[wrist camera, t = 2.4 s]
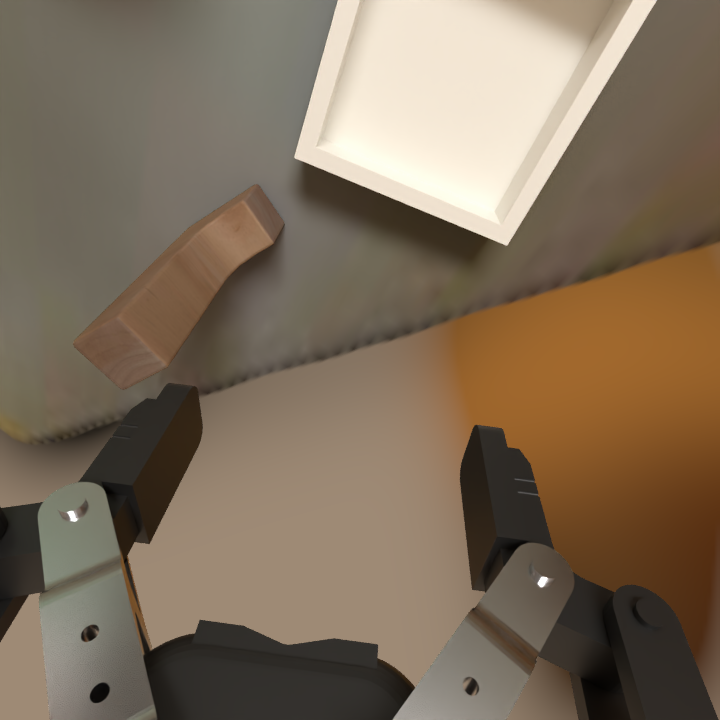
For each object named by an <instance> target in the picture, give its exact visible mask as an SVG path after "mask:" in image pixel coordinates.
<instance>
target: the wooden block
mask: <svg viewBox="0 0 720 720" xmlns="http://www.w3.org/2000/svg"><path fill="white" fill-rule="evenodd" d="M284 225H285V224H284V221H283V220H282V218H281V217H280V215H279V214H278V213H277V211H276V210H275V208H274V207H273V205H272V204H271V202H270V201H269V199H268V198H267V196H266V195H265V194H264V192H263V191H262V189H261V188H260V186H259V185H258V184H256V185H253V186H252V187H250V188H249V189H247V190H246V191H244V192H243V193H241V194H240V195H238V196H237V197H235V198H233V199H232V200H230V201H229V202H227V203H226V204H224V205H223V206H221V207H220V208H218V209H217V210H215V211H213V212H212V213H210V214H209V215H207V216H206V217H204V218H203V219H201V220H200V221H198V222H197V223H195V224H194V225H192V226H190V227H189V228H188V229H187V230H186V231H185V232H184V233H183V234H182V235H181V236H180V237H179V238H178V239H177V240H176V241H175V242H174V243H173V244H172V245H170V246H169V247H168V248H167V249H166V250H165V251H164V252H163V253H162V254H161V255H160V256H159V257H158V258H157V259H156V260H155V261H154V262H153V263H152V264H151V265H150V266H149V267H148V268H147V269H146V270H145V271H144V272H143V273H142V274H141V275H140V276H139V277H138V278H137V279H136V280H135V281H134V282H133V283H132V284H131V285H130V286H129V287H128V288H127V289H126V290H125V291H124V292H123V293H122V294H121V295H120V296H119V297H118V298H117V299H116V300H115V301H114V302H113V303H112V304H111V305H110V306H109V307H108V308H107V309H106V310H105V311H104V312H103V313H102V314H101V315H100V316H99V317H98V318H97V319H96V320H95V321H94V322H92V323H91V324H90V325H89V326H88V327H87V328H86V329H85V330H84V331H83V332H82V333H81V334H80V335H79V336H78V337H77V338H76V339H75V340H74V343H73V345H74V347H75V348H76V349H77V350H78V351H79V352H81V353H82V354H83V355H84V356H85V357H86V358H87V359H88V360H89V361H90V362H92V363H93V364H94V365H95V366H96V367H97V368H98V369H99V370H100V371H101V372H103V373H104V374H105V375H106V376H107V377H108V378H109V379H110V380H111V381H113V382H114V383H115V384H116V385H117V386H118V387H119V388H120V389H123V390H124V389H127V388H129V387H131V386H133V385H134V384H136V383H138V382H140V381H142V380H144V379H146V378H148V377H150V376H152V375H154V374H156V373H158V372H160V371H161V370H163V369H165V368H167V367H168V366H169V364H170V363H171V361H172V360H173V358H174V357H175V355H176V354H177V352H178V351H179V349H180V348H181V346H182V345H183V343H184V342H185V340H186V339H187V337H188V336H189V334H190V333H191V331H192V330H193V328H194V327H195V325H196V324H197V322H198V321H199V319H200V318H201V316H202V315H203V313H204V312H205V310H206V309H207V307H208V306H209V304H210V303H211V301H212V300H213V298H214V297H215V295H216V294H217V292H218V291H219V289H220V288H221V286H222V285H223V283H224V282H225V280H226V279H227V278H228V277H229V276H230V275H231V274H232V273H233V272H234V271H235V270H236V269H237V268H238V267H239V266H241V265H242V264H243V263H245V262H246V261H247V260H249V259H250V258H252V257H253V256H254V255H256V254H258V253H259V252H261V251H263V250H264V249H266V248H268V247H270V246H271V245H273V244H274V242H275V241H276V239H277V237H278V235H279V233H280V232H281V230H282V228H283V226H284Z"/></svg>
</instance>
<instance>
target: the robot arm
mask: <svg viewBox="0 0 720 720" xmlns="http://www.w3.org/2000/svg"><path fill="white" fill-rule="evenodd" d="M202 425H203V424H202V417H201V410H200V403H199V395H198V390H197V388H196V387H195V386H188V385H181V384H173V383H168V384H167V385H166V386H165V387H164V389H163V390H162V392H161V393H160V395H159V396H158V398H157V399H149V398H147V399H145V400H144V401H143V402H141V403H140V404H138V405H137V406H135V407H134V408H133V409H131V410H130V412H129V413H128V414H127V416H126V417H125V419H124V420H123V421H122V423H121V426H119V427H118V428H117V430H116V431H115V432H114V434H113V437H112V438H110V439H109V441H108V442H107V444H106V445H105V446H104V448H103V449H102V450H101V452H100V453H99V455H98V456H97V457H96V459H95V460H94V461H93V463H92V464H91V466H90V467H89V468H88V470H87V471H86V473H85V474H84V475H83V477H82V478H81V479H80V481H79V482H78V483H73V484H69V485H67V486H64V487H62V488H60V489H58V490H57V491H55V492H54V493H52V494H51V495H50V496H49V497H48V498H47V499H46V500H45V501H44V502H41V503H35V504H28V505H21V506H14V507H6V508H1V507H0V642H1V640H2V638H3V637H4V635H5V633H6V631H7V630H8V628H9V627H10V625H11V624H12V622H13V620H14V619H15V617H16V615H17V614H18V612H19V610H20V608H21V607H22V605H23V603H24V602H25V600H26V599H27V597H28V595H29V594H34V593H40V592H41V593H40V596H39V608H40V619H41V630H42V640H43V651H44V660H45V661H44V662H45V672H46V683H47V694H48V704H49V715H50V720H507V718H508V716H509V714H510V712H511V711H512V709H513V707H514V705H515V703H516V701H517V699H518V697H519V695H520V694H521V692H522V690H523V688H524V686H525V684H526V682H527V680H528V679H529V677H530V675H531V673H532V671H533V669H534V667H535V664H536V659H537V657H538V656H539V657H541V658H543V659H545V660H547V661H549V662H551V663H553V664H555V665H557V666H559V667H561V668H563V669H565V670H567V671H569V673H570V678H571V683H572V688H573V693H574V699H575V704H576V709H577V714H578V719H579V720H718V717H717V715H716V713H715V710H714V708H713V705H712V702H711V700H710V697H709V695H708V692H707V690H706V687H705V685H704V682H703V680H702V677H701V675H700V672H699V670H698V667H697V665H696V662H695V660H694V657H693V654H692V652H691V649H690V647H689V644H688V642H687V639H686V637H685V634H684V632H683V629H682V627H681V624H680V622H679V620H678V618H677V616H676V614H675V613H674V611H673V610H672V609H671V607H670V606H669V605H668V604H667V603H666V602H665V601H664V600H663V599H662V598H660V597H659V596H657V595H656V594H655V593H653V592H652V591H650V590H648V589H646V588H643V587H640V586H636V585H625V586H622V587H620V588H619V589H618V590H617V591H616V592H612V591H610V590H608V589H606V588H603V587H601V586H599V585H596V584H594V583H592V582H590V581H587V580H585V579H583V578H581V577H580V576H578V575H576V574H575V573H574V572H572V570H571V568H570V566H569V564H568V563H567V562H566V560H565V559H564V558H563V557H562V556H561V555H560V554H559V553H557V552H556V551H555V550H554V547H553V545H552V542H551V538H550V534H549V530H548V527H547V523H546V519H545V516H544V512H543V509H542V505H541V501H540V497H538V490H537V487H536V484H535V483H534V481H535V479H534V476H533V472H532V468H531V465H530V463H529V462H528V460H527V459H526V458H525V457H524V455H523V454H522V452H521V451H520V450H519V449H515V448H508V447H507V444H506V439H505V435H504V431H503V429H502V428H496V427H488V426H481V425H475V426H474V428H473V430H472V433H471V436H470V439H469V442H468V445H467V448H466V450H465V453H464V457H463V459H462V463H461V470H460V485H461V494H462V503H463V511H464V521H465V530H466V539H467V548H468V556H469V566H470V574H471V584H472V590H479V591H485V594H484V596H483V598H482V599H481V600H480V602H479V603H478V604H477V606H476V607H475V608H473V609H472V610H471V611H470V612H469V613H468V615H467V616H466V617H465V619H464V620H463V621H462V623H461V624H460V626H459V627H458V628H457V630H456V631H455V633H454V634H453V635H452V637H451V638H450V640H449V641H448V642H447V644H446V645H445V647H444V648H443V650H442V651H441V652H440V654H439V655H438V657H437V658H436V659H435V661H434V662H433V664H432V665H431V666H430V668H429V669H428V671H427V672H426V673H425V675H424V676H423V678H422V679H421V680H420V682H419V683H418V685H417V686H416V687H414V685H413V684H412V683H411V682H410V681H409V680H408V679H407V678H406V677H405V676H404V675H403V674H402V673H401V672H400V671H398V670H397V669H396V668H395V667H393V666H391V665H390V664H388V663H387V662H385V661H383V660H380V659H378V658H377V653H378V645H377V644H370V643H363V642H356V641H348V640H341V639H327V640H320V641H313V642H307V643H299V644H293V645H285V644H282V643H280V642H278V641H275V640H273V639H271V638H269V637H266V636H264V635H262V634H260V633H258V632H256V631H254V630H251V629H249V628H247V627H245V626H241V625H233V624H226V623H218V622H211V621H205V620H200V621H199V624H198V627H197V630H196V633H195V634H188V635H185V636H181V637H178V638H175V639H173V640H170V641H168V642H165V643H163V644H162V645H160V646H158V647H156V648H154V649H152V645H151V642H150V638H149V635H148V632H147V629H146V625H145V622H144V618H143V614H142V610H141V606H140V602H139V599H138V594H137V590H136V586H135V583H134V579H133V575H132V571H131V567H130V563H129V559H128V556H127V555H128V553H129V551H130V549H131V548H132V546H133V544H134V542H139V543H146V544H150V542H151V540H152V538H153V536H154V534H155V532H156V530H157V528H158V526H159V524H160V522H161V520H162V518H163V516H164V514H165V512H166V510H167V508H168V506H169V503H170V502H171V500H172V498H173V496H174V494H175V492H176V490H177V488H178V486H179V484H180V482H181V480H182V478H183V476H184V474H185V472H186V470H187V468H188V466H189V464H190V462H191V460H192V458H193V456H194V454H195V452H196V450H197V448H198V446H199V443H200V441H201V436H202V429H203V426H202Z"/></svg>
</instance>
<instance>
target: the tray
mask: <svg viewBox="0 0 720 720" xmlns="http://www.w3.org/2000/svg"><path fill="white" fill-rule="evenodd" d="M656 1H657V0H338V2H337V6H336V10H335V13H334V17H333V20H332V24H331V27H330V31H329V35H328V38H327V42H326V45H325V49H324V53H323V56H322V60H321V63H320V67H319V71H318V74H317V78H316V81H315V85H314V89H313V92H312V96H311V99H310V103H309V106H308V110H307V114H306V117H305V121H304V124H303V128H302V132H301V135H300V139H299V142H298V146H297V150H296V153H295V157H294V158H296V159H298V160H301V161H303V162H306V163H308V164H310V165H313V166H315V167H318V168H320V169H323V170H325V171H327V172H330V173H332V174H335V175H337V176H339V177H342V178H344V179H347V180H349V181H352V182H354V183H356V184H359V185H361V186H364V187H366V188H368V189H371V190H373V191H376V192H378V193H381V194H383V195H385V196H388V197H390V198H393V199H395V200H397V201H400V202H402V203H405V204H407V205H410V206H412V207H414V208H417V209H419V210H422V211H424V212H426V213H429V214H431V215H434V216H436V217H439V218H441V219H443V220H446V221H448V222H451V223H453V224H456V225H458V226H460V227H463V228H465V229H468V230H470V231H472V232H475V233H477V234H480V235H482V236H485V237H487V238H489V239H492V240H494V241H497V242H499V243H501V244H504V245H506V246H507V245H508V243H509V242H510V240H511V238H512V237H513V235H514V233H515V232H516V230H517V228H518V227H519V225H520V224H521V222H522V220H523V219H524V217H525V215H526V214H527V212H528V210H529V209H530V207H531V206H532V204H533V202H534V201H535V199H536V197H537V196H538V194H539V192H540V191H541V189H542V187H543V186H544V184H545V183H546V181H547V179H548V178H549V176H550V174H551V173H552V171H553V169H554V168H555V166H556V165H557V163H558V161H559V160H560V158H561V156H562V155H563V153H564V151H565V150H566V148H567V146H568V145H569V143H570V142H571V140H572V138H573V137H574V135H575V133H576V132H577V130H578V128H579V127H580V125H581V124H582V122H583V120H584V119H585V117H586V115H587V114H588V112H589V110H590V109H591V107H592V106H593V104H594V102H595V101H596V99H597V97H598V96H599V94H600V92H601V91H602V89H603V87H604V86H605V84H606V83H607V81H608V79H609V78H610V76H611V74H612V73H613V71H614V69H615V68H616V66H617V65H618V63H619V61H620V60H621V58H622V56H623V55H624V53H625V51H626V50H627V48H628V46H629V45H630V43H631V42H632V40H633V38H634V37H635V35H636V33H637V32H638V30H639V28H640V27H641V25H642V24H643V22H644V20H645V19H646V17H647V15H648V14H649V12H650V10H651V9H652V7H653V6H654V4H655V2H656Z"/></svg>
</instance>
